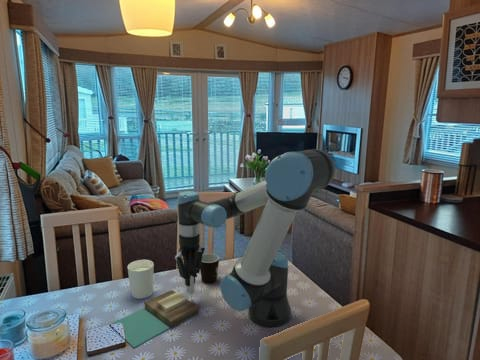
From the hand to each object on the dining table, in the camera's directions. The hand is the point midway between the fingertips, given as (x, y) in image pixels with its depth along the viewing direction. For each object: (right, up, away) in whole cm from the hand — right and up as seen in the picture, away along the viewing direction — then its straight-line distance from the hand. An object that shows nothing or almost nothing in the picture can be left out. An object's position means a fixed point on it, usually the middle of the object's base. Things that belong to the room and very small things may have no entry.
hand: (190, 292), depth 128 cm
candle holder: (-20, -2, +6) cm, 21 cm away
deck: (-6, -5, -6) cm, 10 cm away
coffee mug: (+7, 0, +18) cm, 19 cm away
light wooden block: (-6, -2, -6) cm, 8 cm away
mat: (-15, -7, -15) cm, 22 cm away
